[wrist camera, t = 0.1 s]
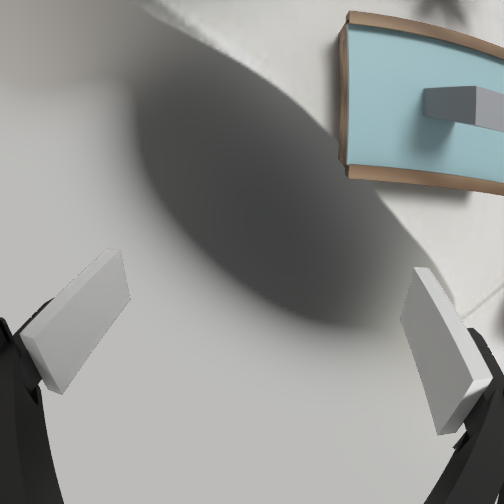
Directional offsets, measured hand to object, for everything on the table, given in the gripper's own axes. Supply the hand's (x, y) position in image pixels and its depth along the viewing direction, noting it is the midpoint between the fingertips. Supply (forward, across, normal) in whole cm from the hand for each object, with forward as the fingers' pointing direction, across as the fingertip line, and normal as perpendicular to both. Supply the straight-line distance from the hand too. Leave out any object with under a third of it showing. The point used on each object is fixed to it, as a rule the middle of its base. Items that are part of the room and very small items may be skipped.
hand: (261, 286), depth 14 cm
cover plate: (+22, +16, +9) cm, 29 cm away
